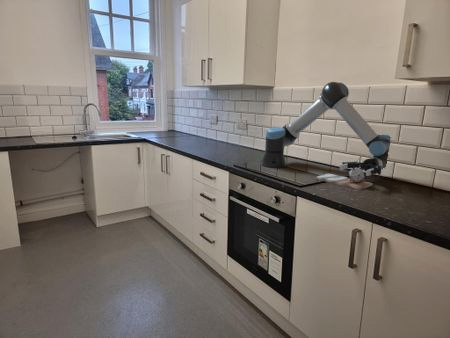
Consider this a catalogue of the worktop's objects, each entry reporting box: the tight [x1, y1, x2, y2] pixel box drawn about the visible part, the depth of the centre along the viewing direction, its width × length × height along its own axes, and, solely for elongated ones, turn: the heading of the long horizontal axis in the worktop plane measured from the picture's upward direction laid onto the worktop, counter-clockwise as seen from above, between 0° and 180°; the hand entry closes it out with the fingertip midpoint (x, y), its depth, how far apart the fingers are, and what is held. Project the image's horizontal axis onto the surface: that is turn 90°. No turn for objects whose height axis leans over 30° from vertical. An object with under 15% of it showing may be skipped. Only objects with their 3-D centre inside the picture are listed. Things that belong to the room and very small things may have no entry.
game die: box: [346, 166, 367, 184], centre depth 153 cm, size 9×8×10 cm
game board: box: [315, 173, 373, 191], centre depth 159 cm, size 25×13×1 cm, turn 41°
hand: (353, 170), depth 150 cm, fingers open, 13 cm apart
